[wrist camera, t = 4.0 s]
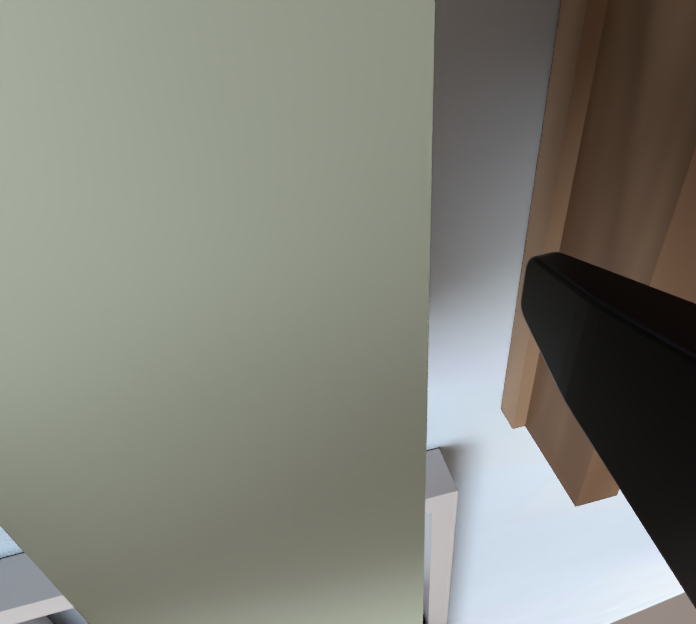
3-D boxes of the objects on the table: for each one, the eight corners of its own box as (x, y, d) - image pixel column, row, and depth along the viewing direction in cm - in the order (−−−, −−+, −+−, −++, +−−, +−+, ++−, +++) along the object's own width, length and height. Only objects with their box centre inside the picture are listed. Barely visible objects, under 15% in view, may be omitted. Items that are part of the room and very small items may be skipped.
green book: (205, 376, 17) (228, 777, 10) (-19, -274, 8) (-2058, -1750, 1) (316, 351, 18) (421, 715, 10) (215, -289, 9) (459, -1282, 1)
